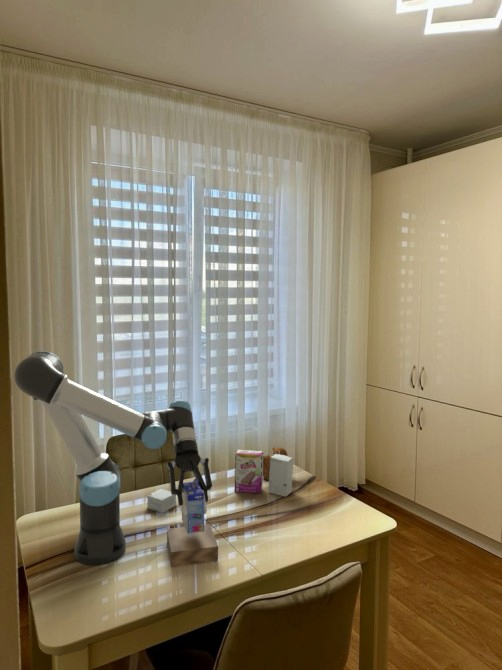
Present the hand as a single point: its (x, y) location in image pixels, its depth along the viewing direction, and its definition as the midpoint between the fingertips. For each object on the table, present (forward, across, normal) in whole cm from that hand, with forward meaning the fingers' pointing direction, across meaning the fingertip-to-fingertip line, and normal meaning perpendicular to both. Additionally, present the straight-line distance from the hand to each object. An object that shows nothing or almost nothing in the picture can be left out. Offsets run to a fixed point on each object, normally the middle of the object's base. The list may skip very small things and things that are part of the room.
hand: (195, 513), depth 142 cm
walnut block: (+7, 0, -13) cm, 15 cm away
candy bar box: (-19, -31, -40) cm, 54 cm away
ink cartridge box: (+1, 0, -7) cm, 7 cm away
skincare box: (-16, -43, -36) cm, 58 cm away
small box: (-16, +5, -36) cm, 40 cm away
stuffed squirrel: (-26, -46, -47) cm, 71 cm away
